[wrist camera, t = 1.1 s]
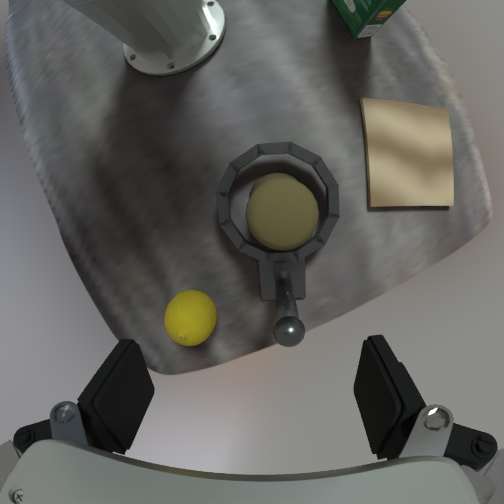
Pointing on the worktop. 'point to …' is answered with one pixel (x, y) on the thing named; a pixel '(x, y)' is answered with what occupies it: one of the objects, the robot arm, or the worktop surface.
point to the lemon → (190, 317)
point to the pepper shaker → (281, 211)
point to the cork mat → (407, 154)
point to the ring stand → (281, 261)
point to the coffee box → (366, 14)
